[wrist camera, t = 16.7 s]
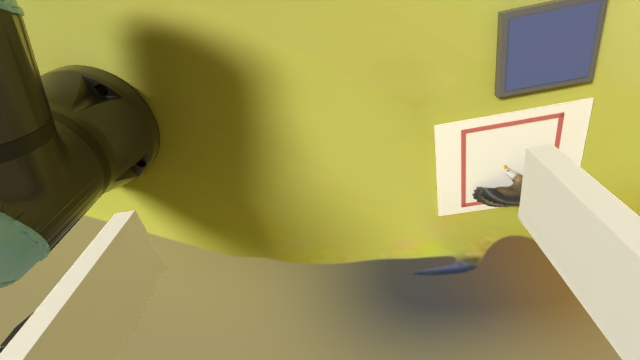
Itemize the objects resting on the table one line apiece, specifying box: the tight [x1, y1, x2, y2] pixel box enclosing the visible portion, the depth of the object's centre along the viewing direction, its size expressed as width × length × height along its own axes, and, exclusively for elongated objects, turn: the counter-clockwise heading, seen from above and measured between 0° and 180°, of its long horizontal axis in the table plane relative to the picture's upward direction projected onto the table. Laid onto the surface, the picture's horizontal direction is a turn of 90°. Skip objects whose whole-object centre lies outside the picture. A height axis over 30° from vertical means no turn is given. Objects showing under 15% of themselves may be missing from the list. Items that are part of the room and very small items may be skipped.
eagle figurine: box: [472, 165, 523, 207], centre depth 45 cm, size 8×7×9 cm
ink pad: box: [495, 0, 607, 98], centre depth 38 cm, size 10×9×1 cm
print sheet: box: [434, 98, 594, 216], centre depth 46 cm, size 18×14×1 cm
